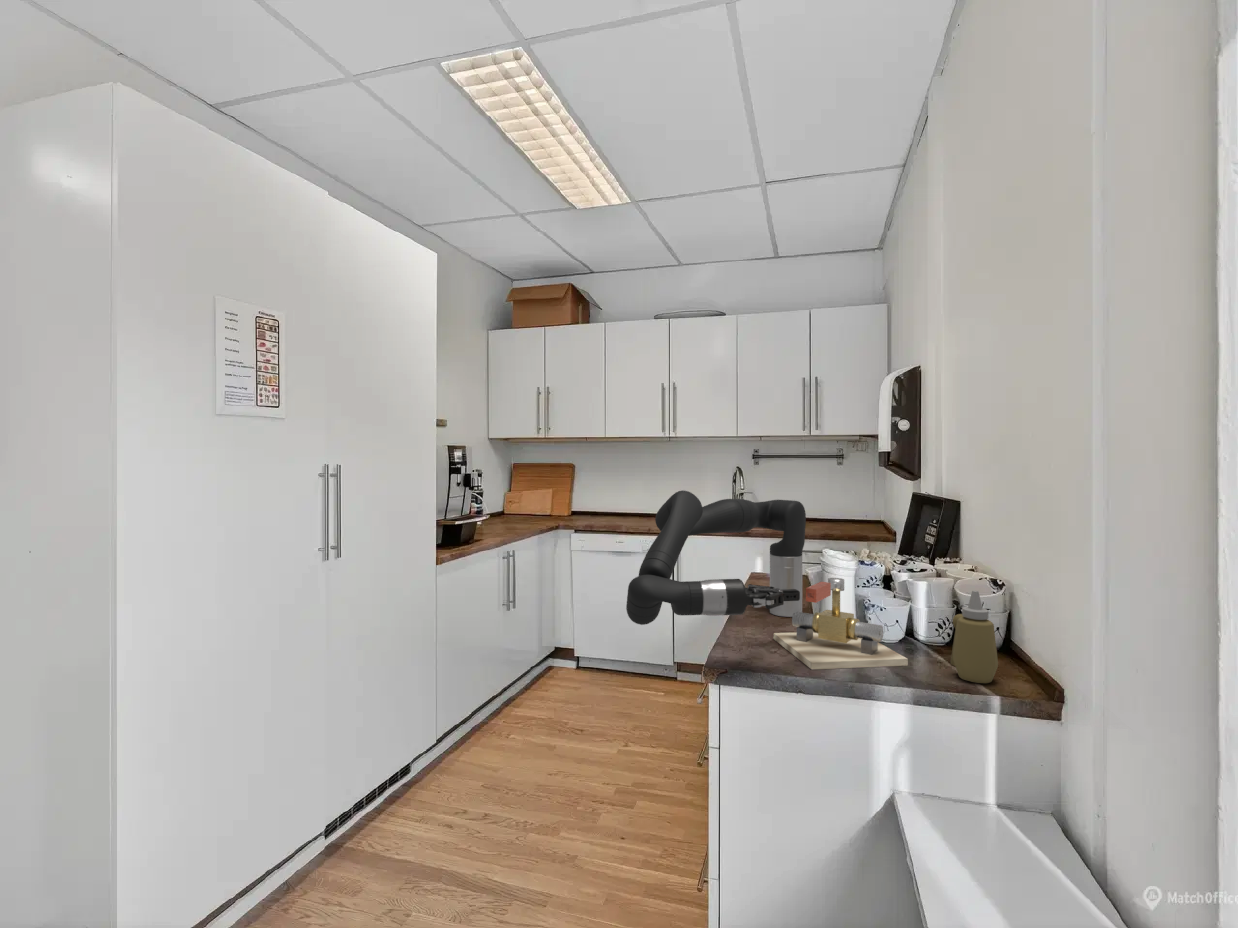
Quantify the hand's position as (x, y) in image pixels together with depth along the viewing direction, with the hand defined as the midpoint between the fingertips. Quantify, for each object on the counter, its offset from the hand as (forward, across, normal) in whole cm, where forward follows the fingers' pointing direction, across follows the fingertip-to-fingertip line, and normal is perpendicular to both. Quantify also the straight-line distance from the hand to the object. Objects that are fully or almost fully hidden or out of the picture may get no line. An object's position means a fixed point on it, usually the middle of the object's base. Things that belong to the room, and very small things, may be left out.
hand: (798, 594), depth 128 cm
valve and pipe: (+14, +10, +14) cm, 22 cm away
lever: (+9, +5, +1) cm, 10 cm away
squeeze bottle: (+33, -10, +16) cm, 39 cm away
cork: (+37, -2, +16) cm, 41 cm away
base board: (+14, +10, +16) cm, 23 cm away
